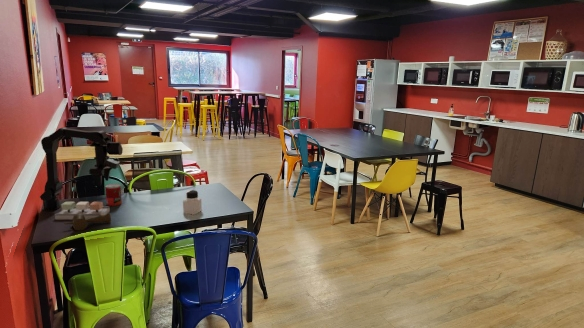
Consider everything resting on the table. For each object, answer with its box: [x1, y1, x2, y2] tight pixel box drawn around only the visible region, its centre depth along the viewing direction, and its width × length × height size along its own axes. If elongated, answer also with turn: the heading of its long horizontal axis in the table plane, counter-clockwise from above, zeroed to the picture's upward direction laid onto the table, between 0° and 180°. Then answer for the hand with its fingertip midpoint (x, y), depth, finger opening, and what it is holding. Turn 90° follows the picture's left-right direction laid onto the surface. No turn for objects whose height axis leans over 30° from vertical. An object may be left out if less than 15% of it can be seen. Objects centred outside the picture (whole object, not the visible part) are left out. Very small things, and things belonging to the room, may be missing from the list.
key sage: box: [60, 201, 76, 211], centre depth 196 cm, size 5×5×3 cm
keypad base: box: [54, 205, 111, 220], centre depth 197 cm, size 22×12×4 cm, turn 95°
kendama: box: [63, 212, 112, 232], centre depth 184 cm, size 6×10×20 cm
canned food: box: [104, 183, 123, 207], centre depth 214 cm, size 8×8×11 cm
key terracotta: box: [89, 201, 104, 210], centre depth 197 cm, size 5×5×3 cm
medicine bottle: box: [182, 189, 203, 216], centre depth 205 cm, size 7×7×12 cm
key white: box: [75, 201, 90, 210], centre depth 196 cm, size 5×5×3 cm
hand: (103, 183), depth 204 cm, fingers open, 9 cm apart
